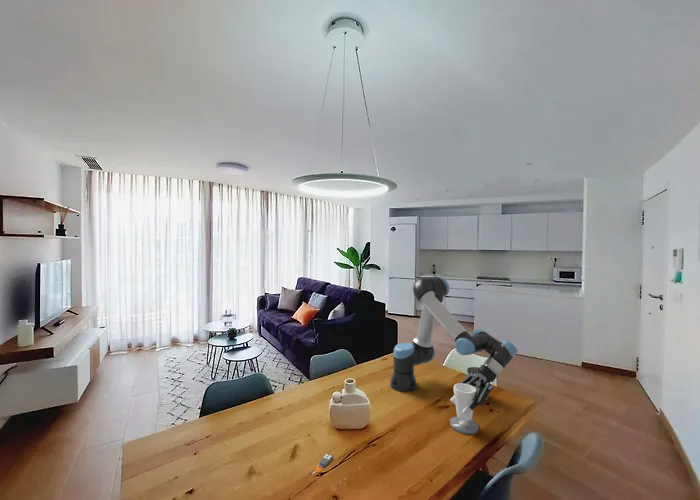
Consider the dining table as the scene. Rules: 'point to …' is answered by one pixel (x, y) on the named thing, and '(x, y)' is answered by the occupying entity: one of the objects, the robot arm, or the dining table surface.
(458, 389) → the foam cup
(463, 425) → the trivet
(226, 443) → the dining table surface
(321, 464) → the key chain
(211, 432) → the dining table surface
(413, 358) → the robot arm
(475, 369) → the coffee can
